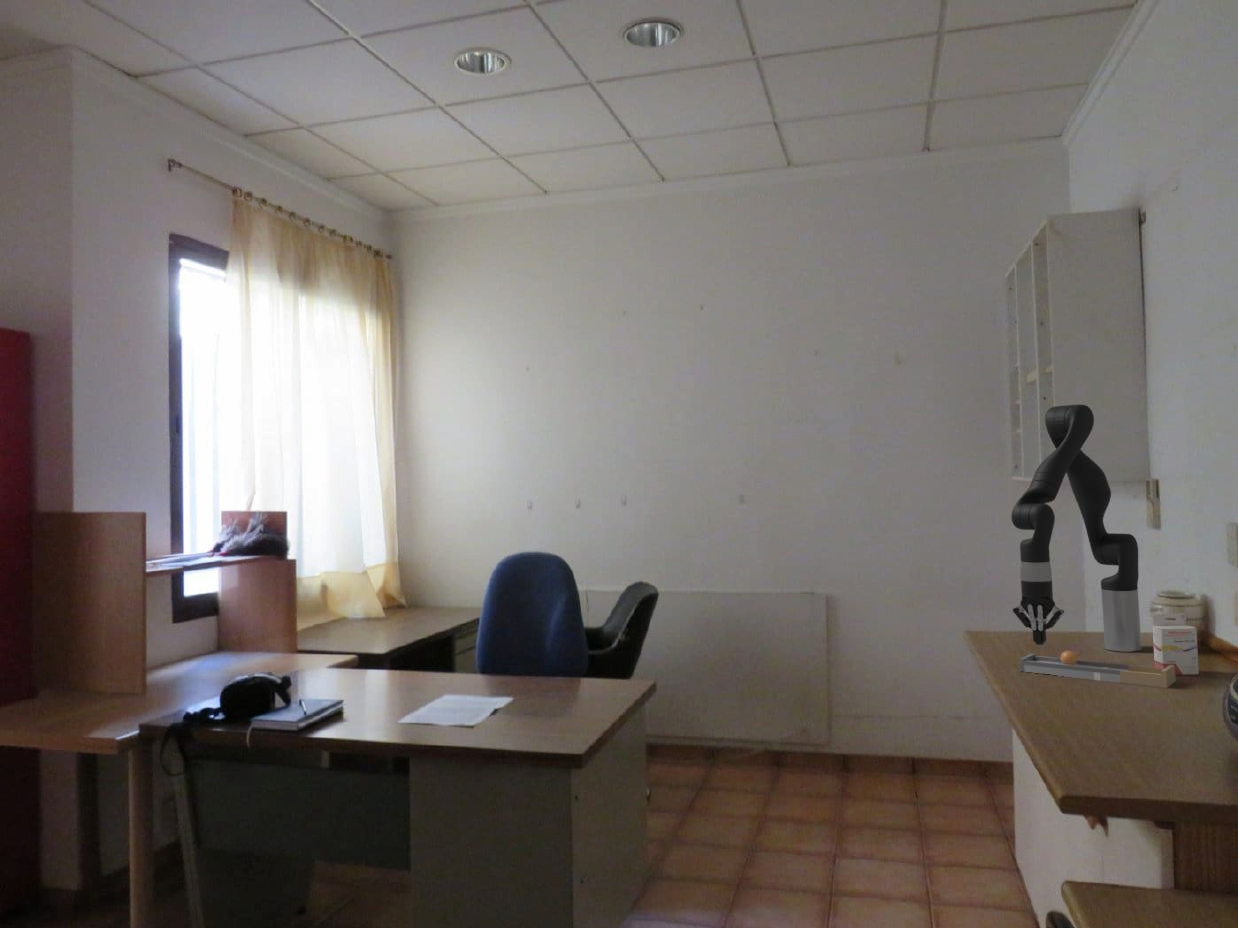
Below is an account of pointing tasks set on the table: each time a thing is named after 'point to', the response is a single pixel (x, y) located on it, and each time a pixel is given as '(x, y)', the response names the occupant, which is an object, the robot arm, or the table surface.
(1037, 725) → the table surface
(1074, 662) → the ball
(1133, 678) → the lane
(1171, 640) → the ink cartridge box
